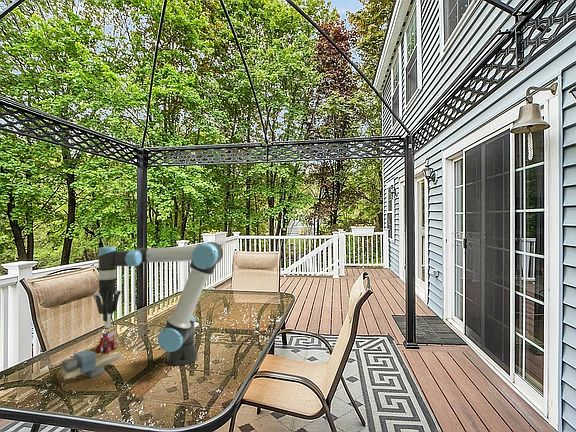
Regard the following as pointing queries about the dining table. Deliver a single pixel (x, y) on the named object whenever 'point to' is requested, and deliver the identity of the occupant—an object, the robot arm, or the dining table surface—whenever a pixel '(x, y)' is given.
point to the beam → (73, 370)
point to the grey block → (86, 360)
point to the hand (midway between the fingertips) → (107, 327)
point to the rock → (99, 355)
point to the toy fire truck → (107, 342)
